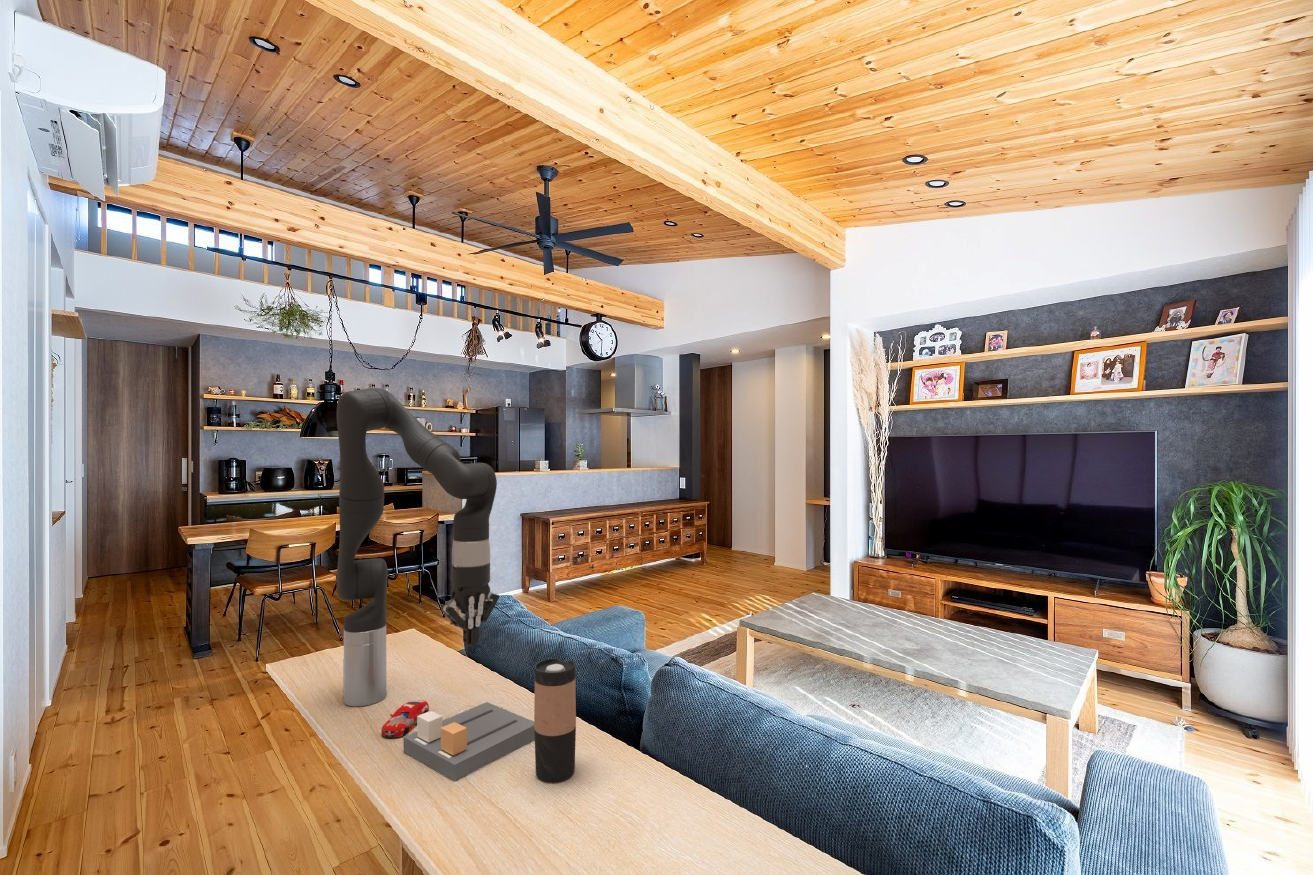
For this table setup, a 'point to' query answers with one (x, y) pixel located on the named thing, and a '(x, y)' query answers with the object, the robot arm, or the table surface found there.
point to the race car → (404, 719)
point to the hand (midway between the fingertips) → (470, 644)
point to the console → (474, 740)
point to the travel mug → (555, 720)
